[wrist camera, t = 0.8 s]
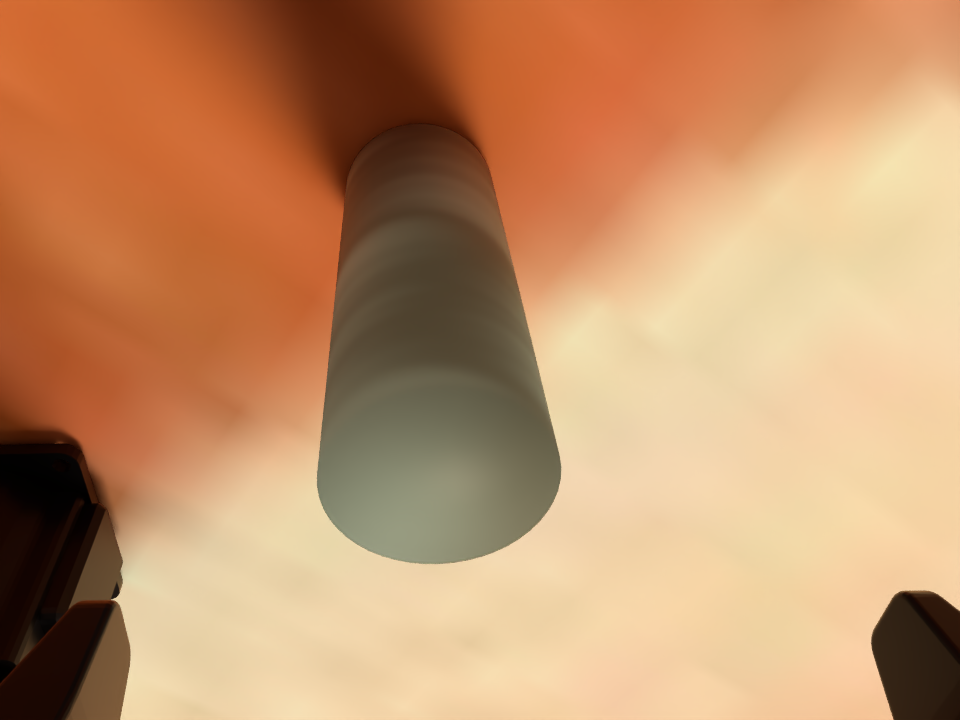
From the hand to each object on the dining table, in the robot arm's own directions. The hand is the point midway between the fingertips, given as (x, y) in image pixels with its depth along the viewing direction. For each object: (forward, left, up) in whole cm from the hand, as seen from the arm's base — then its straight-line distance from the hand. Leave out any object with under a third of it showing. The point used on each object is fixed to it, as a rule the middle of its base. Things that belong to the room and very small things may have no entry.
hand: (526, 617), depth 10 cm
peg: (-1, -1, -13) cm, 13 cm away
